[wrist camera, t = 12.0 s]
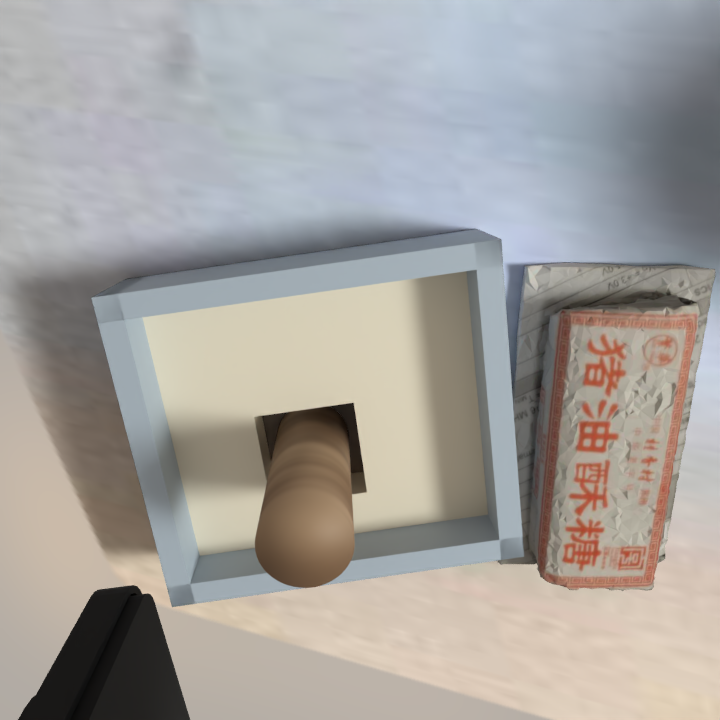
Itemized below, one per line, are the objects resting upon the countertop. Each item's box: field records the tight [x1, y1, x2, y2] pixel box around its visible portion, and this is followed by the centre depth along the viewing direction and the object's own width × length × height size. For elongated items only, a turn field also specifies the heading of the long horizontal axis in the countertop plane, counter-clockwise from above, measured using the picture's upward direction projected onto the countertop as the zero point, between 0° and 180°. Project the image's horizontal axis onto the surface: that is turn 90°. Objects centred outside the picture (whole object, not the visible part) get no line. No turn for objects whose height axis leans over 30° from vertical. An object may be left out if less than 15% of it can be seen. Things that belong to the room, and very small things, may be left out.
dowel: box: [255, 406, 355, 588], centre depth 31 cm, size 4×4×11 cm
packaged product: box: [498, 263, 716, 591], centre depth 35 cm, size 18×5×10 cm
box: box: [91, 229, 524, 607], centre depth 33 cm, size 16×18×5 cm
